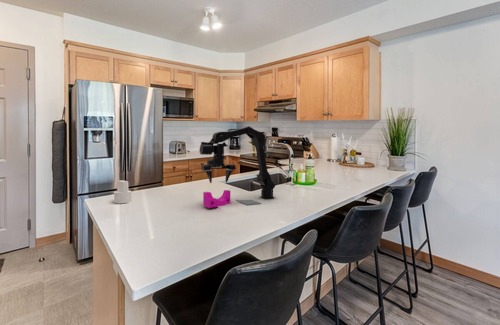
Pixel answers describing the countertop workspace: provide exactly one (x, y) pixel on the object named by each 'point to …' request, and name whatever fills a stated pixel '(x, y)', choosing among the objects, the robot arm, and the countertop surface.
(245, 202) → the mat
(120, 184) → the cylinder with rectangular tab
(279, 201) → the countertop surface
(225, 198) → the magenta arched bracket
